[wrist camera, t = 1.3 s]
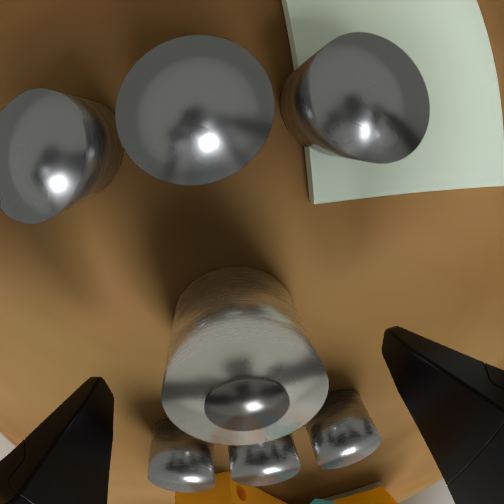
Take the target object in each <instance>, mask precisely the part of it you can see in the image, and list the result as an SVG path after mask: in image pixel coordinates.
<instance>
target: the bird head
mask: <svg viewBox="0 0 504 504" xmlns="http://www.w3.org/2000/svg"><path fill="white" fill-rule="evenodd" d="M310 504H398V503H397V502H396V501H395V500H394V499H393V498H392V497H391V495H390V494H389V493H388V492H387V491H386V490H385V489H384V487H383V486H382V484H381V482H380V481H378V482H375V483H372V484H369V485H367V486H364V487H361V488H358V489H354V490H351V491H348V492H345V493H341V494H338V495H334V496H330V497H326V498H322V499H314V500H313V501H312V502H311V503H310Z"/></svg>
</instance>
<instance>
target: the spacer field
mask: <svg viewBox="0 0 504 504" xmlns="http://www.w3.org/2000/svg"><path fill="white" fill-rule="evenodd" d="M274 107H275V105H274V94H273V89H272V86H271V83H270V80H269V77H268V75H267V74H266V72H265V70H264V68H263V67H262V66H261V64H260V63H259V62H258V60H257V59H256V58H255V57H254V56H253V55H252V54H251V53H249V52H248V51H247V50H246V49H244V48H243V47H241V46H239V45H238V44H236V43H234V42H231V41H229V40H227V39H224V38H220V37H216V36H209V35H189V36H183V37H178V38H174V39H172V40H169V41H166V42H164V43H162V44H160V45H158V46H156V47H154V48H153V49H151V50H150V51H149V52H147V53H146V54H145V55H143V56H142V57H141V58H140V59H139V60H138V61H137V62H136V63H135V64H134V66H133V67H132V68H131V69H130V71H129V72H128V74H127V75H126V77H125V79H124V81H123V83H122V85H121V87H120V90H119V93H118V96H117V101H116V109H115V115H114V113H113V112H112V111H111V110H110V109H109V108H107V107H106V106H105V105H103V104H101V103H98V102H95V101H92V100H88V99H84V98H81V97H77V96H74V95H70V94H66V93H62V92H58V91H54V90H50V89H44V88H37V89H31V90H28V91H25V92H23V93H21V94H19V95H18V96H16V97H15V98H14V99H12V100H11V101H10V102H9V103H8V104H7V105H6V106H5V107H4V109H3V110H2V111H1V113H0V209H1V210H2V211H3V212H4V213H5V214H6V215H8V216H9V217H10V218H12V219H14V220H16V221H18V222H21V223H26V224H36V223H41V222H43V221H46V220H48V219H50V218H52V217H53V216H55V215H57V214H59V213H60V212H62V211H64V210H66V209H68V208H70V207H71V206H73V205H75V204H77V203H79V202H81V201H83V200H85V199H87V198H89V197H91V196H93V195H95V194H97V193H99V192H100V191H101V190H103V189H104V188H105V187H106V186H107V185H108V184H109V183H110V182H111V181H112V180H113V178H114V177H115V175H116V173H117V171H118V169H119V167H120V164H121V161H122V157H123V151H124V149H125V151H126V153H127V154H128V155H129V157H130V158H131V159H132V160H133V161H134V163H135V164H136V165H137V166H138V167H140V168H141V169H142V170H144V171H145V172H146V173H148V174H150V175H151V176H153V177H155V178H157V179H160V180H162V181H165V182H169V183H172V184H178V185H202V184H208V183H212V182H216V181H218V180H221V179H224V178H226V177H228V176H230V175H232V174H234V173H235V172H237V171H238V170H240V169H241V168H243V167H244V166H245V165H246V164H247V163H249V162H250V161H251V160H252V159H253V158H254V156H255V155H256V154H257V153H258V152H259V150H260V149H261V147H262V146H263V145H264V143H265V141H266V139H267V137H268V135H269V132H270V129H271V126H272V122H273V118H274ZM280 109H281V114H282V118H283V121H284V123H285V125H286V127H287V129H288V130H289V132H290V134H291V135H292V136H293V137H294V138H295V139H296V140H297V141H298V142H299V143H300V144H301V145H303V146H304V147H310V148H312V149H313V150H315V151H317V152H320V153H322V154H326V155H330V156H336V157H342V158H348V159H354V160H360V161H365V162H371V163H376V164H387V163H393V162H396V161H399V160H401V159H403V158H405V157H407V156H408V155H410V154H411V153H412V152H413V151H414V150H415V149H416V148H417V147H418V145H419V144H420V143H421V141H422V139H423V138H424V135H425V133H426V130H427V127H428V123H429V116H430V103H429V96H428V91H427V88H426V84H425V82H424V79H423V77H422V75H421V73H420V71H419V69H418V68H417V66H416V65H415V63H414V62H413V61H412V59H411V58H410V57H409V56H408V55H407V54H406V53H405V52H404V51H403V50H402V49H401V48H400V47H398V46H397V45H396V44H394V43H393V42H391V41H390V40H388V39H386V38H384V37H381V36H378V35H375V34H371V33H366V32H352V33H347V34H343V35H341V36H339V37H336V38H335V39H333V40H332V41H330V42H329V43H328V44H326V45H325V46H324V47H322V48H321V49H320V50H319V51H317V52H316V53H315V54H314V55H312V56H311V57H310V58H309V59H307V60H306V61H305V62H304V63H302V64H301V65H300V66H299V67H298V68H297V69H295V70H294V71H293V72H292V73H291V74H290V75H289V77H288V78H287V79H286V81H285V83H284V85H283V88H282V91H281V96H280ZM305 426H306V429H307V432H308V435H309V438H310V441H311V445H312V448H313V451H314V454H315V457H316V460H317V463H318V466H319V467H320V468H323V469H337V468H342V467H345V466H348V465H351V464H354V463H356V462H358V461H360V460H362V459H364V458H365V457H367V456H368V455H370V454H371V453H372V452H374V451H375V450H376V449H377V448H378V446H379V445H380V443H381V437H380V435H379V433H378V431H377V429H376V427H375V425H374V423H373V421H372V419H371V417H370V415H369V414H368V412H367V410H366V408H365V406H364V404H363V402H362V400H361V398H360V396H359V395H358V394H357V393H356V392H354V391H351V390H341V391H336V392H332V393H329V394H327V397H326V400H325V402H324V404H323V406H322V407H321V409H320V410H319V411H318V413H317V414H316V415H315V416H314V417H313V418H312V419H311V420H310V421H308V422H307V423H306V424H305ZM228 451H229V461H230V471H231V478H232V480H233V481H234V482H236V483H238V484H241V485H246V486H266V485H272V484H276V483H280V482H283V481H285V480H288V479H290V478H292V477H293V476H295V475H296V474H297V473H298V472H299V471H300V469H301V465H300V461H299V458H298V454H297V451H296V447H295V443H294V440H293V436H292V433H290V434H288V435H285V436H283V437H280V438H278V439H275V440H271V441H268V442H264V443H259V444H252V445H228ZM148 479H149V481H150V482H151V483H153V484H154V485H156V486H158V487H161V488H163V489H167V490H171V491H176V492H187V493H191V492H201V491H206V490H209V489H211V488H213V487H214V486H215V469H214V452H213V443H211V442H207V441H203V440H201V439H198V438H195V437H193V436H191V435H189V434H187V433H186V432H184V431H182V430H181V429H180V428H178V427H177V426H176V425H175V424H174V423H173V422H172V421H171V420H170V419H168V420H163V421H161V422H159V423H157V424H156V425H155V426H154V428H153V432H152V441H151V449H150V459H149V469H148Z"/></svg>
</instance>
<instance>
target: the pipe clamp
mask: <svg viewBox="0 0 504 504" xmlns="http://www.w3.org/2000/svg"><path fill="white" fill-rule="evenodd" d="M175 504H287V503H285V502H283V501H281V500H279V499H277V498H275V497H273V496H271V495H269V494H267V493H266V492H264V491H262V490H260V489H258V488H257V487H255V486H246V485H241V484H238V483H236V482H234V481H233V480H232V478H231V472H230V471H226V472H222V473H217V474H215V486H214V487H213V488H211V489H209V490H206V491H201V492H191V493H187V492H176V491H175Z"/></svg>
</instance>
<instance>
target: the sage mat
mask: <svg viewBox="0 0 504 504" xmlns="http://www.w3.org/2000/svg"><path fill="white" fill-rule="evenodd" d="M281 1H282V6H283V11H284V16H285V21H286V26H287V32H288V37H289V43H290V48H291V54H292V60H293V66H294V70H295V69H297V68H298V67H299V66H300V65H301V64H302V63H304V62H305V61H306V60H307V59H309V58H310V57H311V56H312V55H314V54H315V53H316V52H317V51H319V50H320V49H321V48H322V47H324V46H325V45H326V44H328V43H329V42H330V41H332V40H333V39H335V38H336V37H339V36H341V35H343V34H347V33H352V32H366V33H371V34H375V35H378V36H381V37H384V38H386V39H388V40H390V41H391V42H393V43H394V44H396V45H397V46H398V47H400V48H401V49H402V50H403V51H404V52H405V53H406V54H407V55H408V56H409V57H410V58H411V59H412V61H413V62H414V63H415V65H416V66H417V68H418V69H419V71H420V73H421V75H422V77H423V79H424V82H425V84H426V88H427V91H428V96H429V103H430V116H429V123H428V127H427V130H426V133H425V135H424V138H423V139H422V141H421V143H420V144H419V145H418V147H417V148H416V149H415V150H414V151H413V152H412V153H411V154H410V155H408V156H407V157H405V158H403V159H401V160H399V161H396V162H393V163H387V164H376V163H371V162H365V161H360V160H354V159H348V158H342V157H336V156H330V155H326V154H322V153H320V152H317V151H315V150H313V149H312V148H310V147H304V149H305V159H306V169H307V180H308V191H309V201H310V202H312V203H313V204H320V203H328V202H336V201H344V200H352V199H360V198H369V197H377V196H386V195H396V194H406V193H416V192H426V191H437V190H449V189H462V188H475V187H491V186H504V135H503V120H502V109H501V100H500V93H499V86H498V80H497V74H496V69H495V64H494V59H493V54H492V50H491V46H490V42H489V38H488V34H487V31H486V27H485V24H484V21H483V18H482V15H481V12H480V9H479V6H478V3H477V0H281Z"/></svg>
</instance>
